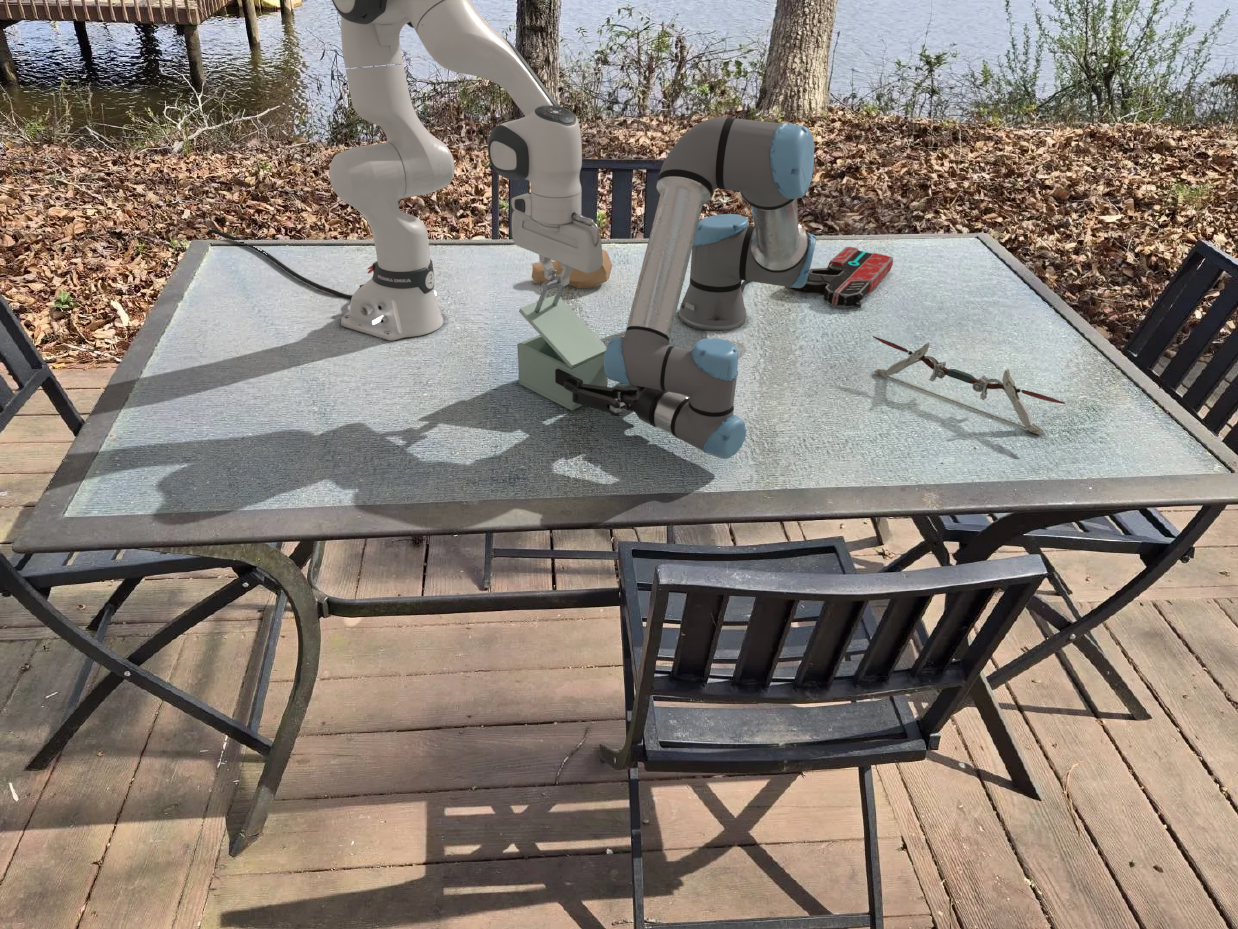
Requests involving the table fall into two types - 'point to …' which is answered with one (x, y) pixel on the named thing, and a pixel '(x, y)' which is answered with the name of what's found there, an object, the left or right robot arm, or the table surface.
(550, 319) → the lid
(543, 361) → the chest
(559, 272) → the squash
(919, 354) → the bow
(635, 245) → the table surface
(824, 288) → the gun
